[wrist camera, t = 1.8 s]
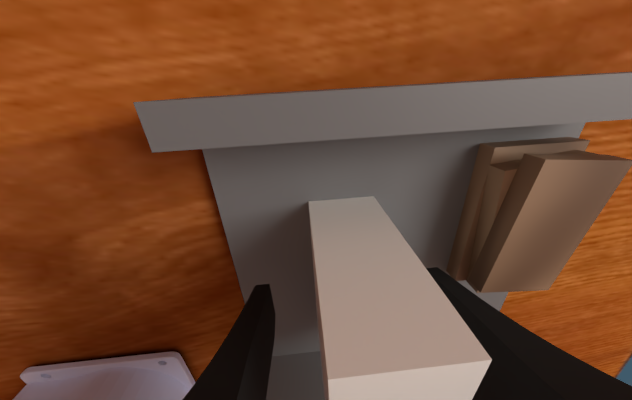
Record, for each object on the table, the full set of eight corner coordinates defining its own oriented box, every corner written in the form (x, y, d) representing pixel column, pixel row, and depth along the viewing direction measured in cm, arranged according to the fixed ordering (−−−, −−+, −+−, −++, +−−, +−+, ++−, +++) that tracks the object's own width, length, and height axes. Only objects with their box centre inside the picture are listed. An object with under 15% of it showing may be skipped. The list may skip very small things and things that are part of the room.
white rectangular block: (317, 318, 14) (334, 509, 8) (308, 201, 10) (327, 379, 4) (365, 313, 14) (422, 496, 8) (373, 196, 10) (492, 359, 4)
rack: (263, 360, 16) (255, 426, 13) (193, 97, 8) (133, 102, 5) (480, 335, 17) (522, 391, 14) (593, 73, 9) (744, 66, 6)
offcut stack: (444, 271, 13) (474, 308, 11) (478, 143, 10) (531, 158, 7) (516, 264, 13) (560, 299, 11) (573, 136, 10) (651, 149, 8)
